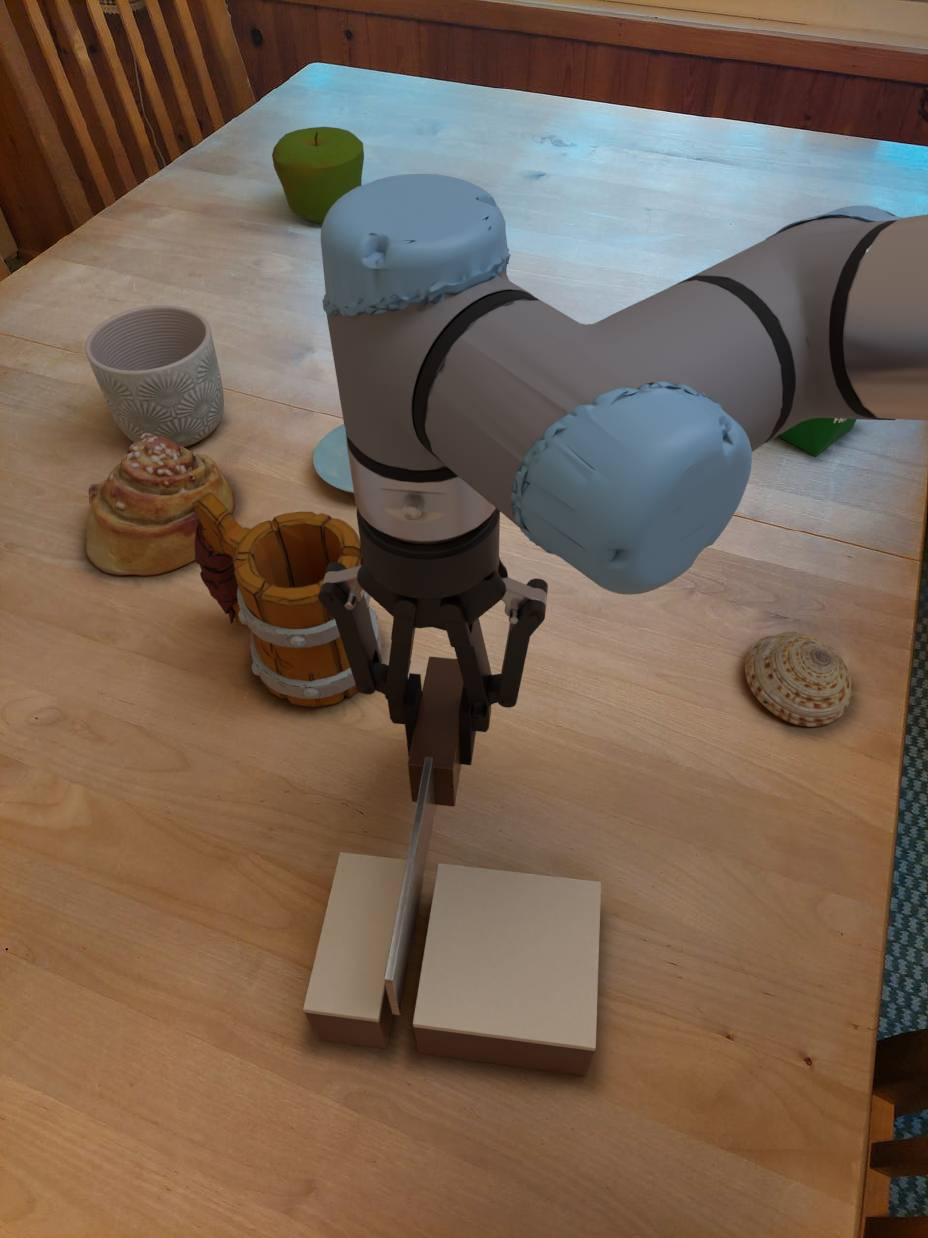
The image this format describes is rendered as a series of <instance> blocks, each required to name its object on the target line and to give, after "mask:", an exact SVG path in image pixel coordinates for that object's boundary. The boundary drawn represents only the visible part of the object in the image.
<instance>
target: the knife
mask: <svg viewBox="0 0 928 1238" xmlns="http://www.w3.org/2000/svg"><path fill="white" fill-rule="evenodd" d="M463 683H464V682H463V679H462V675H461V671H460V667H459V664H458V660H457V658H451V657H450V658H449V657H448V658H447V657H440V656H429V657H428V660H427V665H426V670H425V675H424V679H423V684H422V695H421V700H420V705H419V710H418V715H417V720H416V725H415V729H414V734H413V739H412V744H411V749H410V754H409V757H408V759H407V771H408V780H409V788H410V795H411V797H410V798H411V802H412V803H416V805H415V811H414V816H413V822H412V827H411V831H410V832H411V833H410V838H409V841H408V842H409V843H408V849H407V853H406V858H405V860H406V863H405V869H404V874H403V879H402V885H401V890H400V895H399V901H398V906H397V911H396V917H395V922H394V927H393V933H392V938H391V943H390V949H389V954H388V959H387V965H386V970H385V975H384V981H385V986H386V990H387V994H388V998H389V1002H390V1007H391V1011H392V1014H393V1015H395V1016H401V1015H402V1008H403V1002H404V996H405V990H406V985H407V979H408V972H409V967H410V961H411V955H412V949H413V943H414V939H415V933H416V925H417V921H418V916H419V915H418V914H419V909H420V903H421V897H422V891H423V885H424V880H425V873H426V868H427V862H428V857H429V852H430V851H429V850H430V844H431V840H432V834H433V833H432V832H433V827H434V822H435V821H434V820H435V815H436V809H437V806H444V807H453V808H455V806H456V801H457V794H458V790H459V789H458V788H459V781H460V775H461V769H462V764H461V755H460V729H459V707H460V701H461V695H462V689H463Z"/></svg>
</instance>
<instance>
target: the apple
mask: <svg viewBox="0 0 928 1238" xmlns="http://www.w3.org/2000/svg"><path fill="white" fill-rule="evenodd" d="M271 157H272V158H271V159H272V163H273V169H274V171H275V174H276V176H277V177H278V178H277V179H278V180H279V182H280V184H281V187H282V190H283V192H284V196H285V199H286V201H287V204H288V207H289V209H290V210H291V211H292V213H293V214H295V215H297V216H299V217H300V218H302V219H304V220H306V221H307V222H310V223H315V224H323V222H324V219H325V217H326V214H327V213H328V211H329V209H330V208H331V207H332V206H333V204H334V203H335V202H336V201H337V200H338V199H340V198H341V197H342V196H343V195H345V194H346V193H348V192H349V191H351V190H353V189H354V188H356V187H358V186H362V185H363V184H362V182H363V181H362V178H363V177H362V176H363V171H364V170H363V169H364V162H365V152H364V143H363V141H362V140H361V139H360V138H359V137H358V136H357V135H356V134H354V133H352V132H351V131H350V130H347V129H343V128H340V127H334V126H333V127H332V126H316V127H307V128H302V129H296V130H293V131H289V132H288V133H285V134H284V135H283V136H282V137H281V138H279V139H278V141H277V143H276V144H275V146H273V149H272V153H271Z"/></svg>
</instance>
